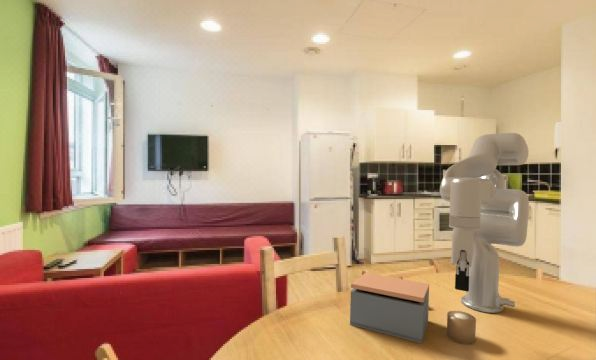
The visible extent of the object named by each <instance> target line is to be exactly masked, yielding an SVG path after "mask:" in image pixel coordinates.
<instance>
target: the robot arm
mask: <svg viewBox="0 0 596 360" xmlns="http://www.w3.org/2000/svg"><path fill="white" fill-rule="evenodd" d="M528 157H529V147H528V144H527V141H526V140H525V137H523V136H522V135H521V134H520V133H517V132H507V133H505V132H503V133H501V132H500V133H488V134H482V135H480V136H478V137H477V138H476V139H475V140H474V143H473V145H472V148H471V150H470V153H469V155H468V157H466V158H464V159H461V160H459V161H458V162H455V163H454V164H452V165H451V166H450V167H448V168H447V170H446V171H445V173H444V175H443V177H442V179H441V182H440V186H439V195H440V197H441V199H442V200H444V201H446V202H449V215H448V216H449V220H448V221H449V223H448V227H449V228H452V237H451V254H450V255H451V256H450V257H451V258H450V264H451V265H452V266H454V265H456V270H455V272H456V273H455V274H454V275H455V278H454V280H455V282H454V289H455V290H456V291H463V292H465V294H464V295H463V296H461V298H460V302H461V304H462V305H464V306H465V307H466V308H469V309H472V310H475V311H479V312H482V313H490V314H497V313H498V314H499V313H501V312H503V311H504V306H507V307H512V308H515V307H516V302H515V301H514V300H511V299H510V298H508V297H502V296H501V295H500V292H499V280H500V255H499V253H498V251H497V250H496V248H495V247H494V246H493V245H495V244H496V245H501V246H508V247H515V248H516V247H517V248H518V247H522V246H523V245H524V244H525V242H526V240H527V236H528V226H529V225H528V223H529V213H530V212H529V211H530V201H529V196H528V194H527V193H526V192H525V191H524V190H521V189H517V188H515V189H514V188H505V186H506V185H505V184H506V178H505V176H504V175H503V174H502V173H501V172H500V171H499V170H498V169H497V166H521V165H524V164H525V163H526V162H527V160H528ZM492 244H493V245H492Z"/></svg>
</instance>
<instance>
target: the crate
mask: <svg viewBox="0 0 596 360" xmlns="http://www.w3.org/2000/svg"><path fill="white" fill-rule="evenodd" d="M429 303H430V288H429V289H428V292H427V294H426V297H425V299H424V302H418V301H413V300H408V299H403V298H398V297H393V296H388V295H384V294H379V293H374V292H369V291H364V290H359V289H354V288H352V289H351V290H350V306H349V307H350V309H349V325H350V326H353V327H358V328H361V329H365V330H369V331H372V332H377V333H380V334H382V335H383V334H384V335H387V336H392V337H395V338H400V339H403V340H407V341H410V342H414V343H417V344H421V345H422V344H423V341H424V338H425V334H426V330H427V327H428V323H429V308H430V307H429Z"/></svg>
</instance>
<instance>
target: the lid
mask: <svg viewBox="0 0 596 360" xmlns="http://www.w3.org/2000/svg"><path fill="white" fill-rule="evenodd" d="M350 288H351V289H359V290H364V291H369V292H374V293H379V294H384V295H388V296H393V297H398V298H403V299H408V300H413V301H418V302H424V299H425V297H426V294H427V292H428V289H429V290H430V283H427V282H421V281H416V280H415V281H414V280H409V279H403V278H399V277H398V278H397V277H392V276H387V275H380V274H374V273H370V272H364V273H363V274H362V275H360V276H359V277H358V278H357V279H355V280H354V281H353V282H352V283H350Z"/></svg>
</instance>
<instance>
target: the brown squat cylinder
mask: <svg viewBox="0 0 596 360" xmlns="http://www.w3.org/2000/svg"><path fill="white" fill-rule="evenodd" d="M446 316H447V319H446V337H447V338H448V339H449V340H451V341H453V342H455V343H456V344H462V345H467V346H468V345H473V344H475V343H476V330H477V318H476V317H475V316H474V315H473V314H470V313H469V312H465V311H460V310H450V311H448V312H447V315H446Z"/></svg>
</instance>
